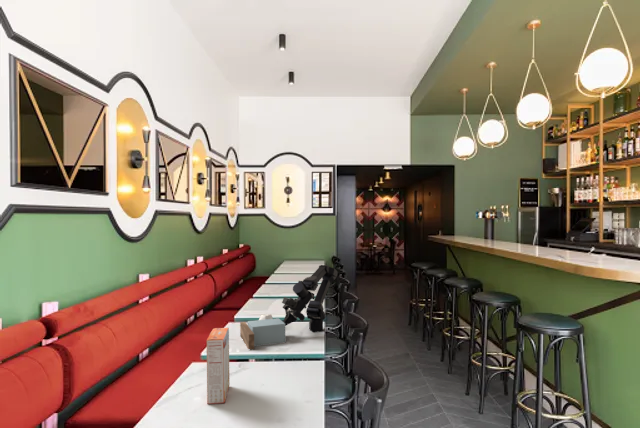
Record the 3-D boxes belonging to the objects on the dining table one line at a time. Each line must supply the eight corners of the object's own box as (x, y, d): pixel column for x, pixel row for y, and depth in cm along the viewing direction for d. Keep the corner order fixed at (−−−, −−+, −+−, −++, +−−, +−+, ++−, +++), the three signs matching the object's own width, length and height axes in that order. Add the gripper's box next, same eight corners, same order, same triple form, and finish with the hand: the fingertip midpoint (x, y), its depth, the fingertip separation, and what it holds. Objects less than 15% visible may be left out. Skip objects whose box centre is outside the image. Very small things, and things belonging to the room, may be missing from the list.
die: (266, 334, 210) (277, 317, 214) (252, 325, 212) (263, 308, 215) (268, 335, 218) (278, 319, 222) (255, 327, 220) (265, 311, 223)
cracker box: (212, 386, 142) (212, 327, 142) (230, 386, 143) (229, 327, 143) (205, 404, 128) (205, 339, 128) (224, 403, 129) (224, 338, 129)
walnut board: (245, 335, 206) (245, 321, 206) (254, 349, 183) (254, 334, 183) (240, 336, 205) (240, 322, 205) (248, 350, 182) (248, 334, 183)
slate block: (278, 335, 205) (278, 318, 205) (285, 342, 194) (285, 323, 194) (247, 339, 199) (247, 321, 200) (252, 346, 188) (252, 327, 188)
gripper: (285, 288, 211) (265, 312, 206) (297, 293, 193) (276, 319, 189) (300, 302, 213) (281, 325, 209) (313, 308, 196) (293, 334, 192)
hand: (282, 325), depth 199 cm, fingers closed, pressing on slate block
